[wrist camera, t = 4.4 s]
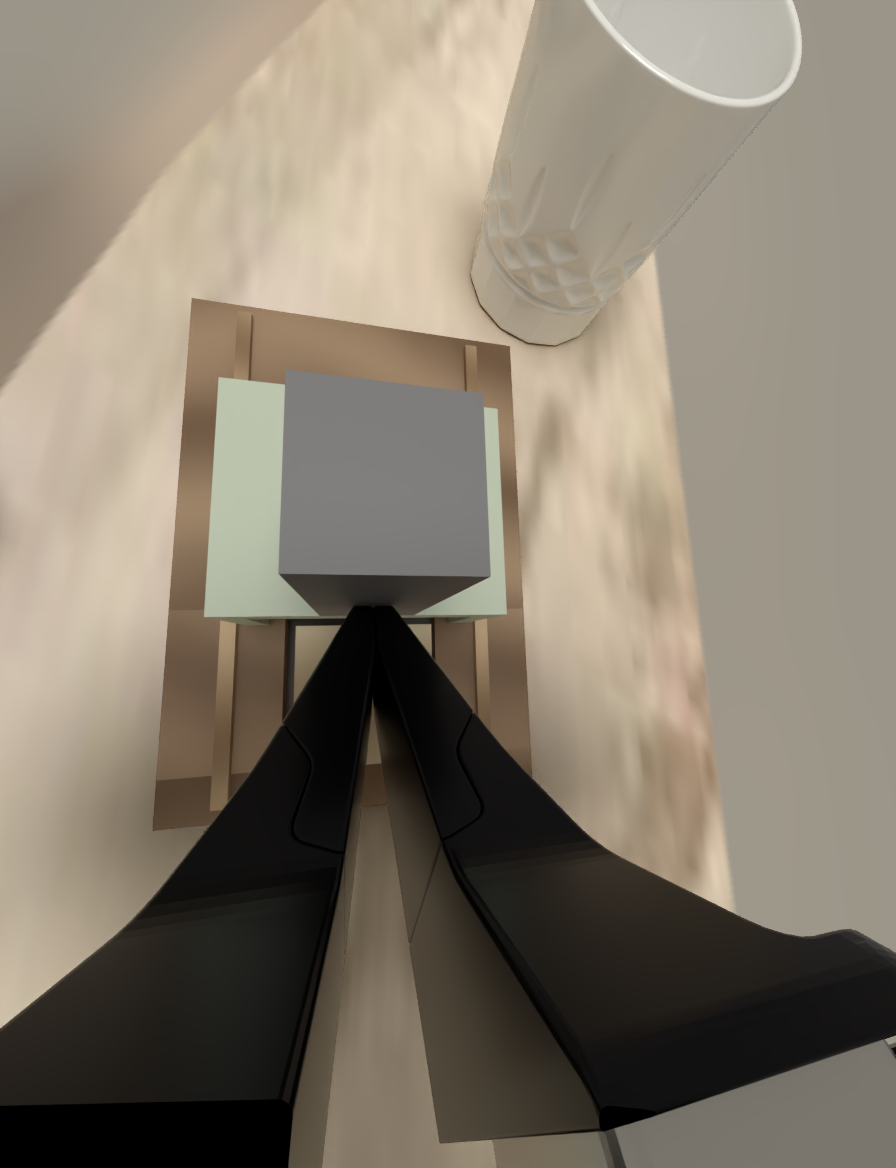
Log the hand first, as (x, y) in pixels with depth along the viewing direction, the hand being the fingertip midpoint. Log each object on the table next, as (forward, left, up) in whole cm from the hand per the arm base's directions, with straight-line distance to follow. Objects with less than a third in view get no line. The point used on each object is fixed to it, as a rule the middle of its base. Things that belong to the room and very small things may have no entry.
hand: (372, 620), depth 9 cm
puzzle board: (+3, -2, -8) cm, 8 cm away
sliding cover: (+3, -2, -6) cm, 7 cm away
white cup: (+11, -16, -8) cm, 21 cm away
